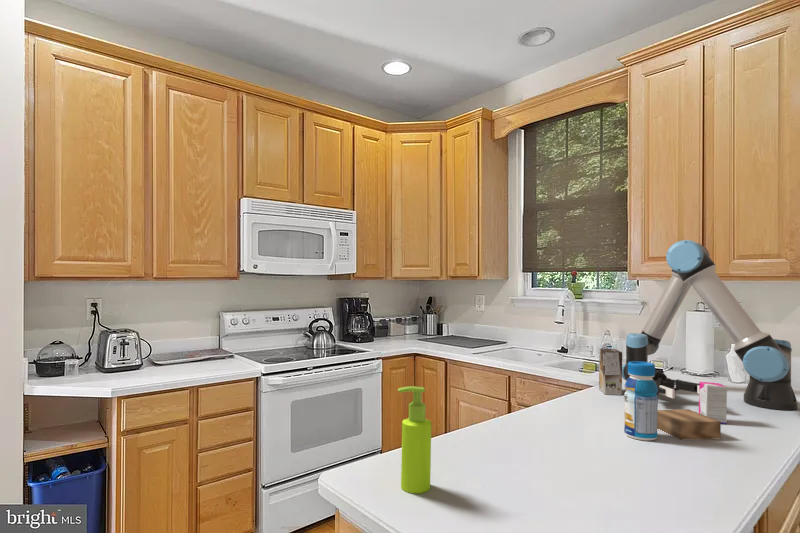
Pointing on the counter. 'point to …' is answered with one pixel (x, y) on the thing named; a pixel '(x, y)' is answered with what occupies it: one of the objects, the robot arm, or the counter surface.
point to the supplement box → (713, 401)
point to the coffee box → (610, 371)
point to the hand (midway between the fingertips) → (693, 394)
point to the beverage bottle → (641, 402)
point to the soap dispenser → (416, 445)
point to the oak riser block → (688, 424)
